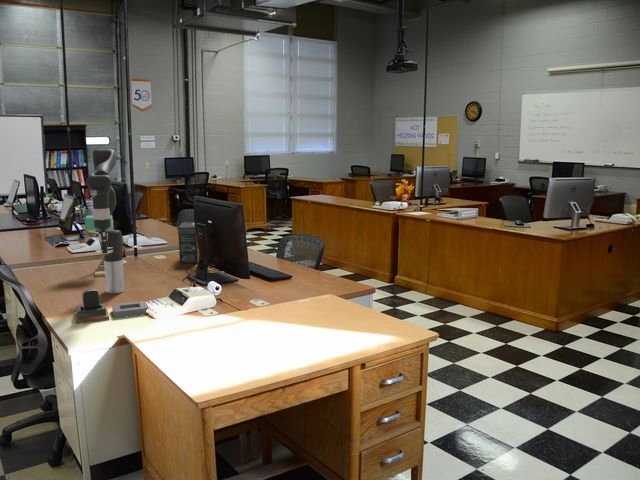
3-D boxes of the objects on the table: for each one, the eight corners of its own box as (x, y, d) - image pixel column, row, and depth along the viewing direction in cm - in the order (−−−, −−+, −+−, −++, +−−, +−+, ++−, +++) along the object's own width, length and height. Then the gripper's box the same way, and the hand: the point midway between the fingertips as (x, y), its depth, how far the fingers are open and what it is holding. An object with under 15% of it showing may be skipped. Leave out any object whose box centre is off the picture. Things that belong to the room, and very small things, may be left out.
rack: (74, 314, 264) (74, 305, 263) (106, 310, 269) (106, 301, 268) (75, 323, 251) (75, 314, 250) (109, 319, 257) (108, 310, 256)
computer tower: (183, 256, 388) (181, 219, 383) (201, 256, 390) (199, 218, 385) (179, 263, 366) (177, 224, 361) (197, 263, 368) (196, 224, 363)
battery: (98, 311, 264) (97, 287, 262) (100, 313, 260) (98, 289, 258) (82, 313, 260) (80, 289, 258) (84, 316, 257) (82, 291, 255)
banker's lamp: (117, 268, 354) (113, 212, 348) (116, 275, 335) (112, 217, 329) (90, 269, 350) (85, 213, 343) (87, 278, 330) (83, 218, 324)
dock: (112, 310, 269) (112, 304, 269) (145, 306, 276) (144, 300, 275) (114, 318, 259) (114, 311, 258) (148, 313, 265) (148, 307, 264)
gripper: (92, 216, 270) (94, 249, 273) (94, 220, 257) (96, 255, 260) (109, 215, 273) (111, 248, 276) (111, 219, 260) (114, 253, 263)
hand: (104, 251), depth 268 cm, fingers open, 8 cm apart
